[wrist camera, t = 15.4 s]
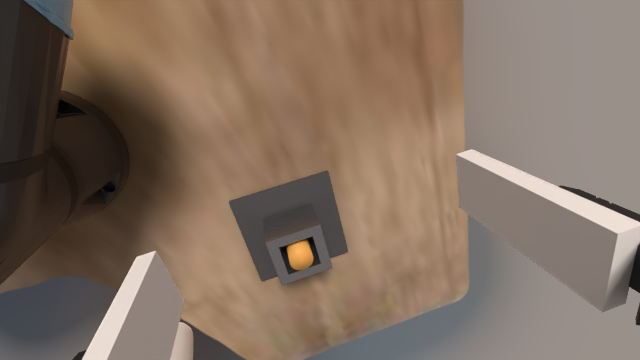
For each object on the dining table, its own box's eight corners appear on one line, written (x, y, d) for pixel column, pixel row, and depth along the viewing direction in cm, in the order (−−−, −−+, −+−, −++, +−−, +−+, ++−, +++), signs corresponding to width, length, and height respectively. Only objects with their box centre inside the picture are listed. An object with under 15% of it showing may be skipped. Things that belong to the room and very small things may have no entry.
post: (281, 249, 47) (287, 282, 40) (270, 220, 44) (275, 250, 38) (314, 237, 47) (326, 269, 40) (305, 208, 45) (316, 236, 38)
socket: (277, 258, 46) (281, 285, 41) (262, 218, 44) (265, 242, 38) (322, 242, 47) (332, 267, 42) (311, 203, 44) (320, 224, 39)
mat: (261, 278, 48) (261, 281, 48) (229, 201, 43) (229, 203, 42) (346, 249, 50) (348, 251, 49) (327, 170, 44) (328, 172, 44)
